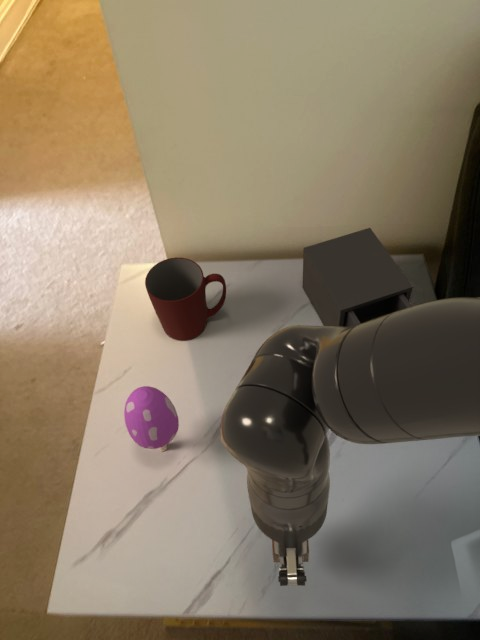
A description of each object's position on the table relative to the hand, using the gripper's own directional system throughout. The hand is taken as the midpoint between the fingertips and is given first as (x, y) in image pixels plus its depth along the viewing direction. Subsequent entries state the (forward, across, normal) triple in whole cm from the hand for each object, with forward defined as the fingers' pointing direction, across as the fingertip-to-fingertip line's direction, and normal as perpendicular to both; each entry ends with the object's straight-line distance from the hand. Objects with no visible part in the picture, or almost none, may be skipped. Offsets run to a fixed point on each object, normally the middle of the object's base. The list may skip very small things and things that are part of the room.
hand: (290, 543), depth 66 cm
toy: (+5, +15, +17) cm, 23 cm away
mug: (+5, +37, +14) cm, 40 cm away
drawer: (+4, +28, -16) cm, 33 cm away
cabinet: (+5, +39, -12) cm, 41 cm away
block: (0, 0, 0) cm, 0 cm away
